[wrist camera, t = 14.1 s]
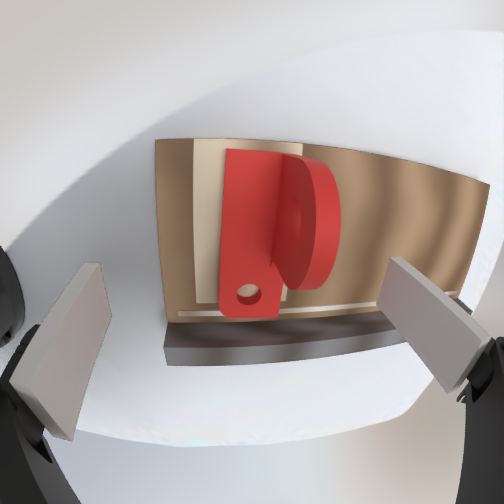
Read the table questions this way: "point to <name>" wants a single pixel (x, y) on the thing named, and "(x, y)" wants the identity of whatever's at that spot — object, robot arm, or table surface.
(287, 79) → the table surface
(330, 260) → the bracket
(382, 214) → the board
